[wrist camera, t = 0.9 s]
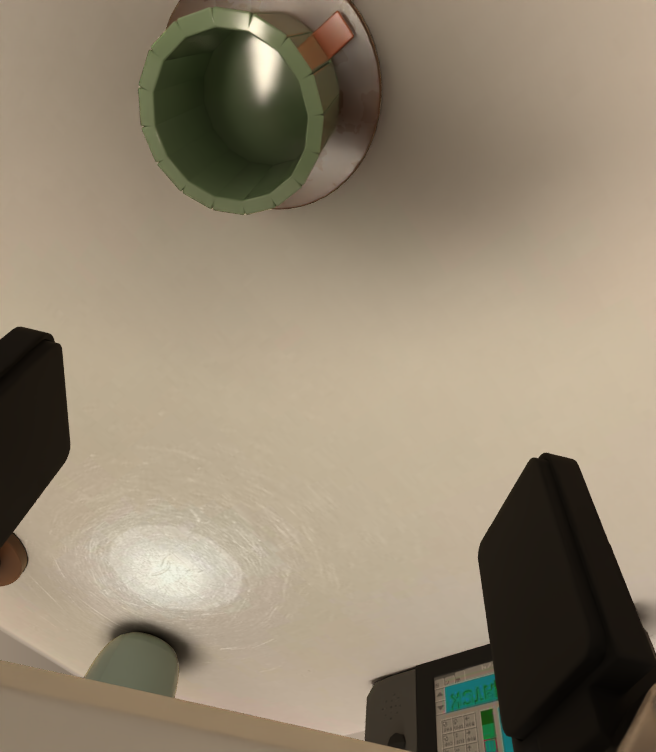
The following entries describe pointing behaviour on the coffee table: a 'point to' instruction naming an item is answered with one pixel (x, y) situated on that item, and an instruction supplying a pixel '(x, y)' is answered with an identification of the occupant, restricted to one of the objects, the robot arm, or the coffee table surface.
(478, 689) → the handheld gaming console
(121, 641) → the cup
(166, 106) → the green grooved mug
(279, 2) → the brown dish
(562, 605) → the robot arm
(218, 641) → the coffee table surface
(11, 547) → the dark base
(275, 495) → the coffee table surface
